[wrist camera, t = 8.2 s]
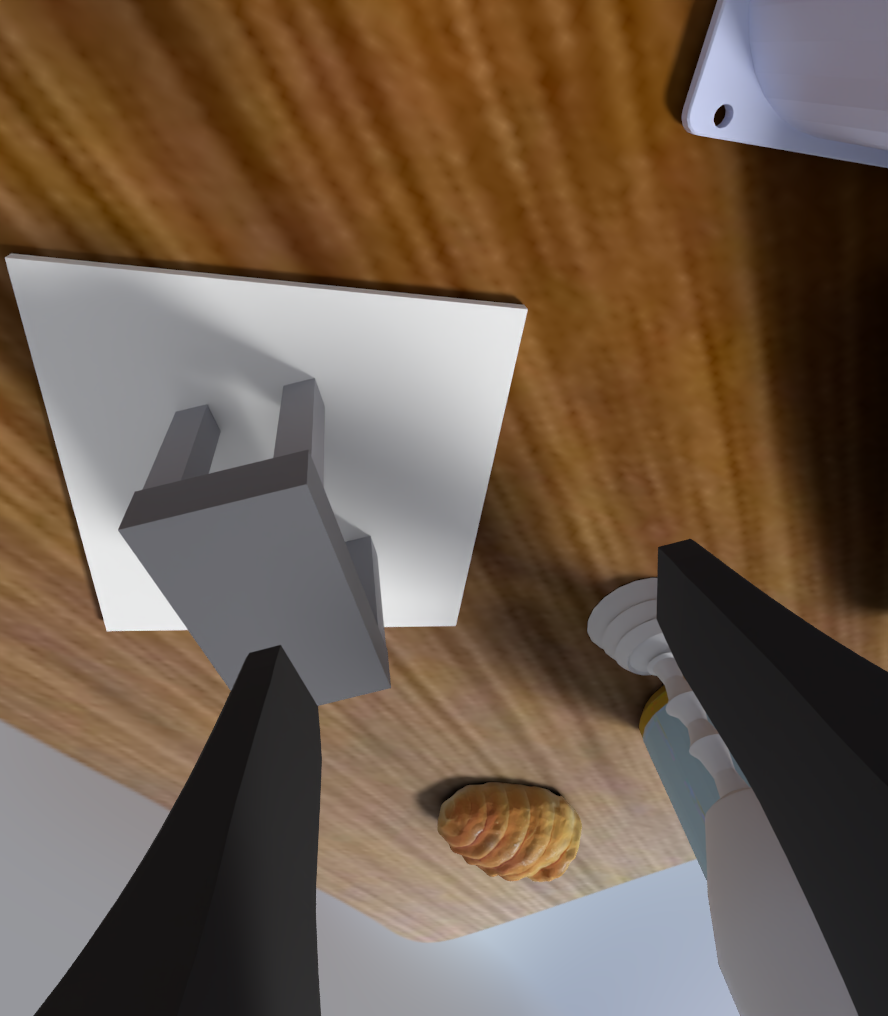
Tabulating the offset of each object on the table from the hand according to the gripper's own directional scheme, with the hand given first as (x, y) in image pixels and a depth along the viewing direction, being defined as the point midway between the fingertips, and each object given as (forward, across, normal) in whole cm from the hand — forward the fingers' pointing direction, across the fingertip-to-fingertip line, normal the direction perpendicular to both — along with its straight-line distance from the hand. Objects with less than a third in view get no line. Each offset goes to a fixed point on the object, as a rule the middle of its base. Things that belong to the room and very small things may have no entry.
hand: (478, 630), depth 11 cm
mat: (+10, +5, +2) cm, 12 cm away
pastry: (+11, +1, +30) cm, 32 cm away
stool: (+10, +5, +2) cm, 12 cm away
